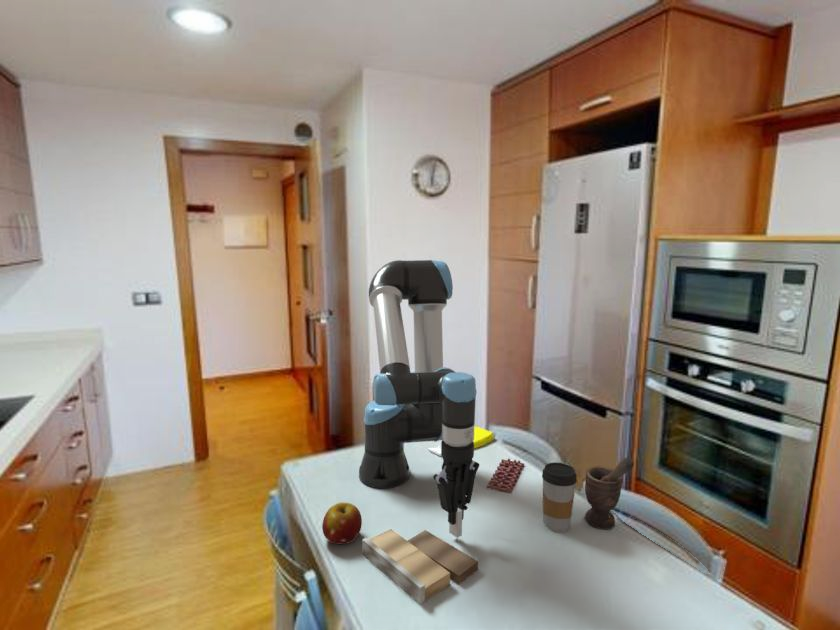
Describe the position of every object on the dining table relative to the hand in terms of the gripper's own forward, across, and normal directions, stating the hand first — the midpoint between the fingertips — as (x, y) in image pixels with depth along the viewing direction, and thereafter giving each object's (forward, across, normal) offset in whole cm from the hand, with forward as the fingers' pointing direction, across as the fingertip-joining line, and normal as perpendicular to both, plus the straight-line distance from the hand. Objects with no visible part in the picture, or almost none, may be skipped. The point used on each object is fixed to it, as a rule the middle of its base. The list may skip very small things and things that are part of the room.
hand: (455, 533), depth 116 cm
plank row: (+2, -15, 0) cm, 15 cm away
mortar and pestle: (+2, +34, -20) cm, 39 cm away
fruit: (+2, -20, +18) cm, 27 cm away
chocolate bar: (+2, +34, +13) cm, 36 cm away
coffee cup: (+2, +24, -12) cm, 27 cm away
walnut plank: (+2, -8, -3) cm, 8 cm away
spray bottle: (+2, +39, +37) cm, 54 cm away
